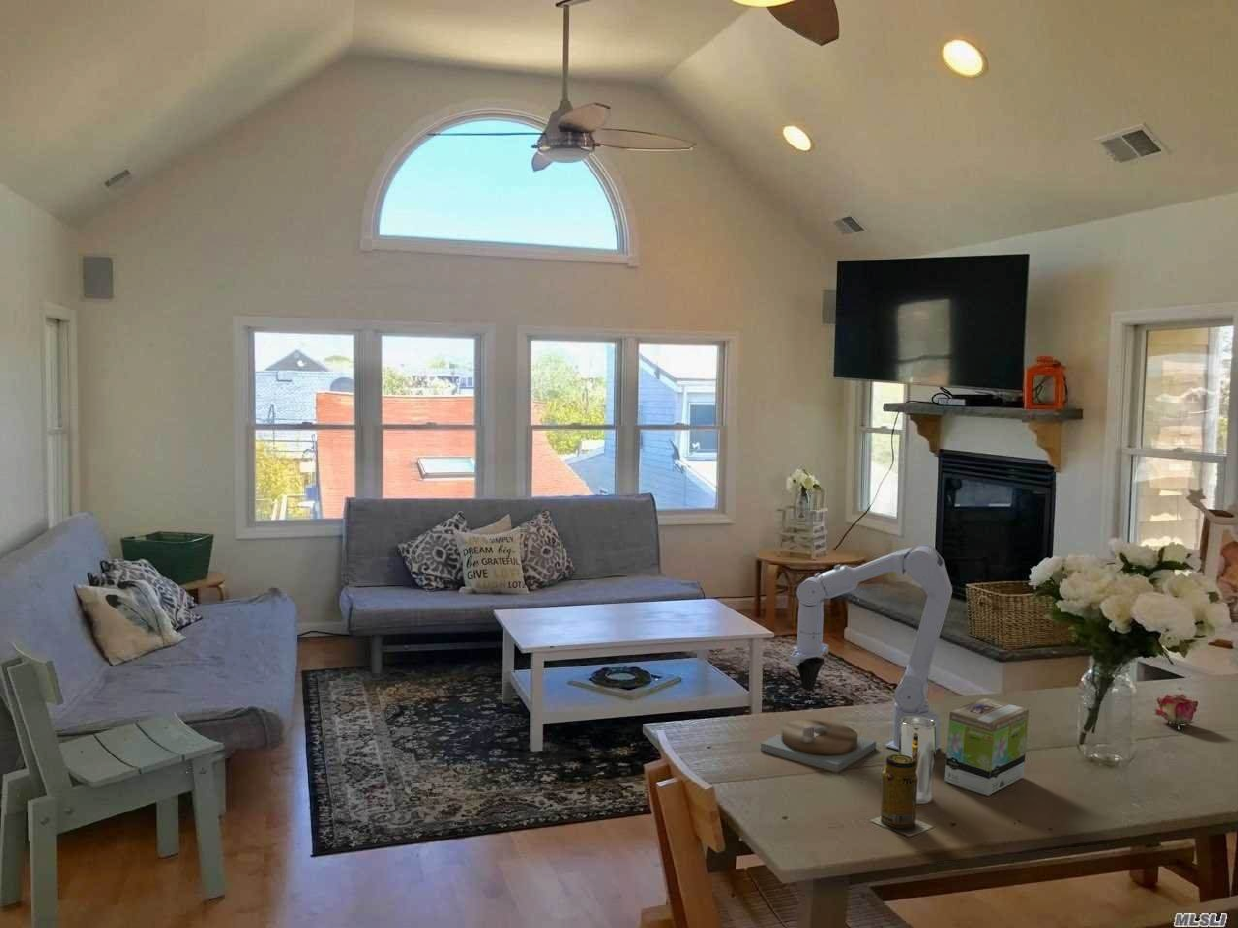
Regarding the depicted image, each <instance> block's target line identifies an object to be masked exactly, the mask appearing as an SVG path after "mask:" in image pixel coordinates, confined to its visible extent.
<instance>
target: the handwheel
mask: <svg viewBox="0 0 1238 928" xmlns="http://www.w3.org/2000/svg"><path fill="white" fill-rule="evenodd" d="M781 733H782V741H783V743H784V744H786V745H787V746H789V747H791V748H793V749H795V750H798V751H801V752H805V753H811V754H818V755H839V754H845V753H848V752H851V751H853V750H855V749H856V747H857V737H859V736H858V732H857V731H855V730H854V729H853V728H851V727H850V726H847V725H844V724H842V723H837V722H835V721H829V720H824V719H799V720H792V721H789V722H787V723H786V724H784V725H783V726H782V728H781Z"/></svg>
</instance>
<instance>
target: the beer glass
mask: <svg viewBox="0 0 1238 928" xmlns="http://www.w3.org/2000/svg"><path fill="white" fill-rule="evenodd" d="M936 748H937V723H936V722H935V721H934V720H932V719H929V718H925V717H919V716H907V717H904V718H902V719H901V726H900V734H899V750H898V754H902V755H907V756H910V757H912V758H913V759H914V760H915V761H916V765H915V767H916V775H917V794H916V805H924V804H925V805H926V804H928V803H930V802H931V801H932V792H931V791H932V790H931V776H932V772H933V769H934V764H935V760H936V755H937V751H936Z"/></svg>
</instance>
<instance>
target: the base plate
mask: <svg viewBox="0 0 1238 928" xmlns="http://www.w3.org/2000/svg"><path fill="white" fill-rule="evenodd" d="M760 743H761V744H760V751H761V752H764V751H765V752H764V753H767V754H772V755H774V756H777V755H778V757H781V758H785V759H788V760H791V761H795V762H798V763H802V764H806V765H809V766H813V767H816V768H819V769H822V768H823V770H827V771H830V772H833V773H837V774H838V773H839V772H841V771H842V770H844V769H845V768H846V769H847V767H849V766H850V765H852V764H854V763H855V762H857V761H859V760H861V759H862V758H863V757H865V756H867V755H868V754H870V753H872V752H874V751H876V749H877V741H876V740H873V739H869V738H865V737H862V736H858V737H857V747H856V749H855V750H853V751H851V752H848V753H845V754H839V755H818V754H811V753H805V752H801V751H798V750H795V749H793V748H791V747H789V746H787V745H786V744H784V743H783V741H782V732H780V733H778V734H777V735H775V736H772V737H770V738H768V739H766V740H763V741H762V742H760Z"/></svg>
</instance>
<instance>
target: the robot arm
mask: <svg viewBox="0 0 1238 928" xmlns="http://www.w3.org/2000/svg"><path fill="white" fill-rule="evenodd" d="M911 550H912V551H911ZM910 551H911V552H910ZM890 572H892V573H895V574H899V575H902V576H904V574H905V573H906V574H907V576H908V577H910V578H911V579H912V580H914V581H915V582H916V583H918V584H919V586H920V587H921V588H922V589H923V591H924V592H925V594H926V595H927V597H926V601H925V605H924V608H923V612H922V615H921V618H920V622H919V624H918V629H917V633H916V636H915V640H914V642H913V647H912V650H911V653H910V657H909V661H908V663H907V667H906V669H905V672H904V675H903V677H901V680H900V683H899V684H898V685H897V687H896V688H895V689H894V693H893V698H894V703H893V704H894V705H893V723H892V724H893V725H892V739H891V741H889V742H887V743H885V744H884V747H885V748H889V749H892V750H896V751H899V734H900V726H901V719H902V718H904V717H907V716H919V717H925V718H929V719H932V720H934V721H935V722H936V723H937V748H936V752H938V750H939V749H941V745H940V740H941V739H940V736H941V717H940V714H939V713H937V712H934V711H932V710H930V709H929V707H930V705H929V704H928V703H927V700H926V698H927V696H928V694H929V693H930V685H931V684H930V681H929V677H930V673H931V666H932V664H933V660H934V656H935V653H936V650H937V646H938V642H939V641H940V640H939V639H940V635H941V633H942V628H943V625H944V622H945V619H946V615H947V611H948V609H949V605H950V602H951V598H952V595H953V594H952V593H953V586H952V584H951V581H950V578H949V575H948V572H947V567H946V564H945V560H944V558H943V556H941V554H940V553H939V551H938V550H937V549H936V548H935V547H934V546H931V545H929V544H920V545H917V546H916V547H914V548H913V547H909V548H904V549H900V550H897V551H893V552H891V553H889V554H886V555H883V556H881V557H878V558H876V559H874V560H871V561H869V562H866V563H864V564H861V565H859V566H855V567H851V566H848V565H846V564H844V565H841V564H836V565H834V567H833V569H831V570H828V571H826V572H823V573H820V572H816V573H815V574H814V576H810V577H807V578H805V580H803V581H802V582H800V584H798V586H797V588H796V598H797V600H798V610H797V629H796V630H797V633H796V634H797V635H796V638H797V639H796V645H795V646H793V647H792V651H793V652H792V654H791V655H789V657H788V658H789V660H788V661H789V665H793V666H795V667H796V669H797V672H798V675H799V679H800V682H801V688H802V690H803V691H807V692H812V691H814V688H815V685H816V682H817V678H818V675H819V673H820V671H821V669H822V667H823V665H824V664H825V659H824V658H821V657H822V656H823V655H824V654H825V655H826V654H829V644H827V643H824V641H823V640H824V624H825V623H824V620H825V619H824V618H825V611H824V610H825V609H824V604H825V601H824V600H825V599H828V600H829V599H833V598H835V597H838V596H841V595H843V594H846V593H849V592H851V591H855V590H856V589H857V586H858V584H859V582H862V581H866V580H869V579H871V578H875V577H878V576H881V575H884V574H887V573H890Z"/></svg>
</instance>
